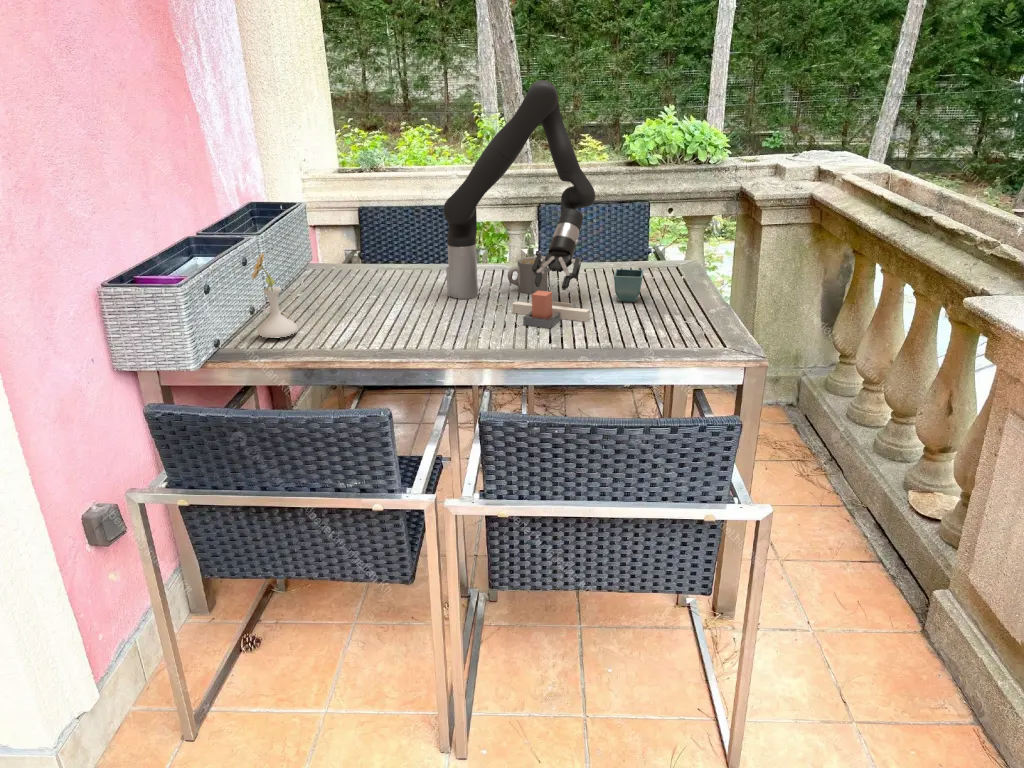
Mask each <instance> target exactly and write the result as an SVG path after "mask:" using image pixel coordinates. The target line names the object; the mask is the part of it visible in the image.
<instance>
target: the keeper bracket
mask: <svg viewBox="0 0 1024 768" xmlns="http://www.w3.org/2000/svg"><path fill="white" fill-rule="evenodd" d="M522 320H523V323H522V325H523V326H526V325H527V326H528V327H534V328H535V327H536V328H542V327H543V329H544V328H545V329H552V328H553V327H554V326H556V325H557V324H558V323H559V322H560V321H561V319H560V312H556V313H555V314H554V315H553V316H551V317H550V318H549V319H545V318H537V317H532V311H531V312H529V313H528V314H527V315H524V316H523V317H522Z"/></svg>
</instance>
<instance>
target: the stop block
mask: <svg viewBox="0 0 1024 768" xmlns="http://www.w3.org/2000/svg"><path fill="white" fill-rule="evenodd" d="M552 302H553V292H552V291H548V290H547V291H537V292H535V293H533V294H531V303H532V317H537V318H545V319H549V318H550V317H551V316H552Z"/></svg>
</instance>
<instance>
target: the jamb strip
mask: <svg viewBox="0 0 1024 768" xmlns="http://www.w3.org/2000/svg"><path fill="white" fill-rule="evenodd" d="M511 306H512V308H511V310H512V314H516V313H517V315H524V314H525V315H527V314H528V313H529V312H531V311H532V302H524V301H514V302H513V303H512V305H511ZM556 312H560V320H566V319H567V320H569V321H577V322H584V323H585V322H586V323H587V322H588V321H589V320H590V309H586V308H579V307H577V308H576V307H572V303H571V302H570V303H569V302H564V301H562V302H561V301H553V300H552V316H553V315H554V314H555V313H556ZM525 315H524V316H525ZM567 320H566V321H567Z"/></svg>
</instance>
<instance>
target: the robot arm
mask: <svg viewBox="0 0 1024 768" xmlns="http://www.w3.org/2000/svg"><path fill="white" fill-rule="evenodd" d="M560 109H561V108H560V103H559V94H558V89H557V88H556V86H555V85H554V84H553V83H552V82H550V81H549V80H544V79H541V80H537V81H535V82H533V83H532V84H531V86H529V89H528V91H527V93H526V94H525V97H524V99H523V101H522V102H521V104H520V106H519V107H518V109H517V110H516V112H515V113H514V115H513V116H512V118H511V119H510V120H509V121H508V122H506V124H505V125H504V126H502V128H501V129H499V131H498V132H497V133H496V134H495V135H494V137H493V138H492V139H491V140H490V141H489V143H488V145H486V147H485V148H484V150H483V151H482V153H481V154H480V156H479V157H478V159H477V160H476V162H475V163H474V165H473V167H472V168H471V170H470V171H469V174H468V175H467V177H466V179H465V180H464V181H463V183H462V184H461V185H460V186H459V187H457V189H456V190H455V191H454V192H453V193H452V195H450V196H449V198H447V199H446V201H445V202H444V204H443V216H444V219H445V220H446V222H448V230H447V236H446V241H447V258H448V259H447V260H448V261H447V262H448V267H446V269H445V271H446V272H445V274H446V289H447V297H450V296H451V298H452V297H453V299H456V298H458V300H467V299H474V298H476V297H477V296H478V293H479V289H478V266H477V265H478V263H477V261H478V260H477V259H478V258H477V240H476V239H477V233H478V232H477V231H478V228H477V227H478V226H477V224H478V223H477V222H478V220H477V217H478V216H477V207H478V205H479V204H480V202H481V200H482V198H483V197H485V194H486V193H487V192H488V191H489V190H491V188H492V187H493V186H495V185H496V183H497V182H498V181H499V180H500V179H501V178H502V177H503V176H504V175H505V174H506V173H507V172H508V170H509V169H510V167H511V166H512V165H513V163H514V162H515V161H516V159H517V158H518V157H519V155H520V153H521V152H522V150H523V149H524V147H525V146H526V144H527V142H528V140H529V139H530V137H531V135H533V133H534V131H535V130H536V129H538V128H537V127H538V126H539V125H541V126H542V128H543V131H544V135H545V137H546V141H547V144H548V148H549V152H550V156H551V159H552V162H553V164H554V166H555V169H556V173H557V175H558V177H559V180H561V181H562V182H568V183H571V184H572V186H569V187H567V188H565V189H564V190H563V192H562V194H561V198H560V217H559V220H558V223H557V225H556V228H555V230H554V233H553V235H552V238H551V239H552V240H551V242H550V246H549V249H548V252H547V255H546V256H544V255H542V254H541V253H538V254H537V255H536V256H535V257H536V259H535V262H534V264H533V267H532V271H533V273H534V274H535V275H536V277H535V280H534V283H535V285H536V287H540V283H541V280H542V276H543V275H544V274H546V273H547V274H549V273H550V272H558V273H562V272H564V274H565V276H563V277H564V278H563V280H562V283H561V289H562V291H566V290H567V289H568V288H569V287H570V282H571V280H572V279H574V280H576V279H578V278H579V274H580V269H581V266H582V265H581V264H582V261H581V259H580V258H579V257H576V258H573V257H574V255H575V250H576V247H577V244H578V242H579V241H578V240H579V235H580V232H581V228H582V225H583V222H584V221H583V220H584V217H583V213H582V212H581V211H580V210H579V209H583V208H589V207H591V206H592V205H593V204H594V202H595V200H596V191H595V188H594V186H593V184H592V183H591V182H590V180H589V178H587V176H586V174H585V172H584V171H583V170H582V168H581V167H580V164H579V161H578V158H577V155H576V153H575V150H574V147H573V145H572V143H571V139H570V137H569V135H568V132H567V130H566V127H565V124H564V121H563V118H562V117H563V116H562V113H561V110H560ZM544 261H546V262H545V263H544V264H543V265H542V267H541V268H540V266H541V263H543V262H544ZM571 265H573V268H572V272H570V271H569V269H568V268H569V267H570V266H571Z"/></svg>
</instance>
